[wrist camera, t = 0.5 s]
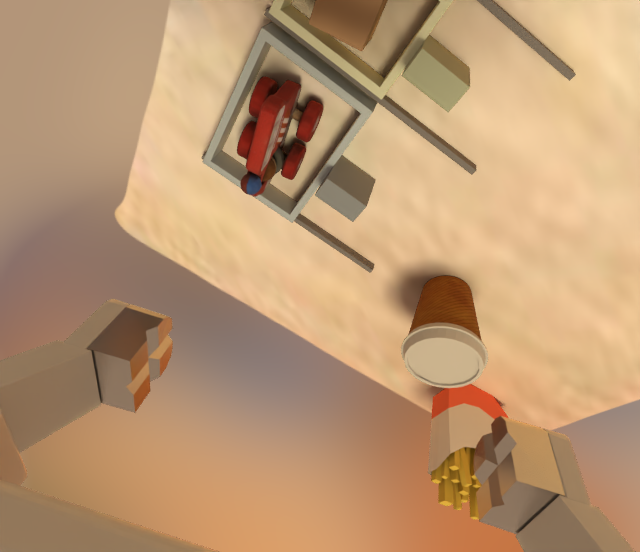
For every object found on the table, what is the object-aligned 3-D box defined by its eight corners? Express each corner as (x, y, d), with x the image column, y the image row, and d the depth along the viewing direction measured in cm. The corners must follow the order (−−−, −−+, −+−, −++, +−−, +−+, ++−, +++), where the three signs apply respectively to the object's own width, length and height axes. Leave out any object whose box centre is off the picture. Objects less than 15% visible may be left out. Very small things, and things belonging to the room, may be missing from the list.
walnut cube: (344, -50, 36) (330, -46, 32) (397, -22, 36) (389, -15, 32) (323, 13, 39) (308, 23, 35) (371, 38, 39) (361, 51, 36)
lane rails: (335, -138, 32) (331, -140, 31) (573, 70, 37) (575, 74, 36) (205, 154, 52) (201, 158, 51) (371, 267, 56) (370, 272, 55)
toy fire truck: (243, 157, 51) (203, 200, 43) (272, 56, 43) (230, 86, 35) (294, 183, 51) (264, 230, 44) (333, 88, 43) (305, 125, 35)
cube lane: (333, -112, 33) (313, -117, 29) (499, 31, 36) (504, 47, 32) (279, 7, 40) (255, 18, 35) (425, 120, 43) (420, 144, 38)
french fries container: (451, 371, 65) (447, 487, 52) (509, 402, 66) (519, 523, 53) (433, 384, 68) (426, 496, 55) (489, 414, 70) (494, 531, 56)
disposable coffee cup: (397, 279, 57) (384, 346, 48) (465, 255, 51) (465, 325, 43) (430, 326, 60) (424, 396, 52) (497, 308, 55) (502, 382, 46)
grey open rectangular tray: (272, 21, 40) (249, 34, 36) (416, 131, 44) (410, 155, 39) (213, 151, 51) (189, 173, 47) (331, 232, 54) (319, 260, 50)
